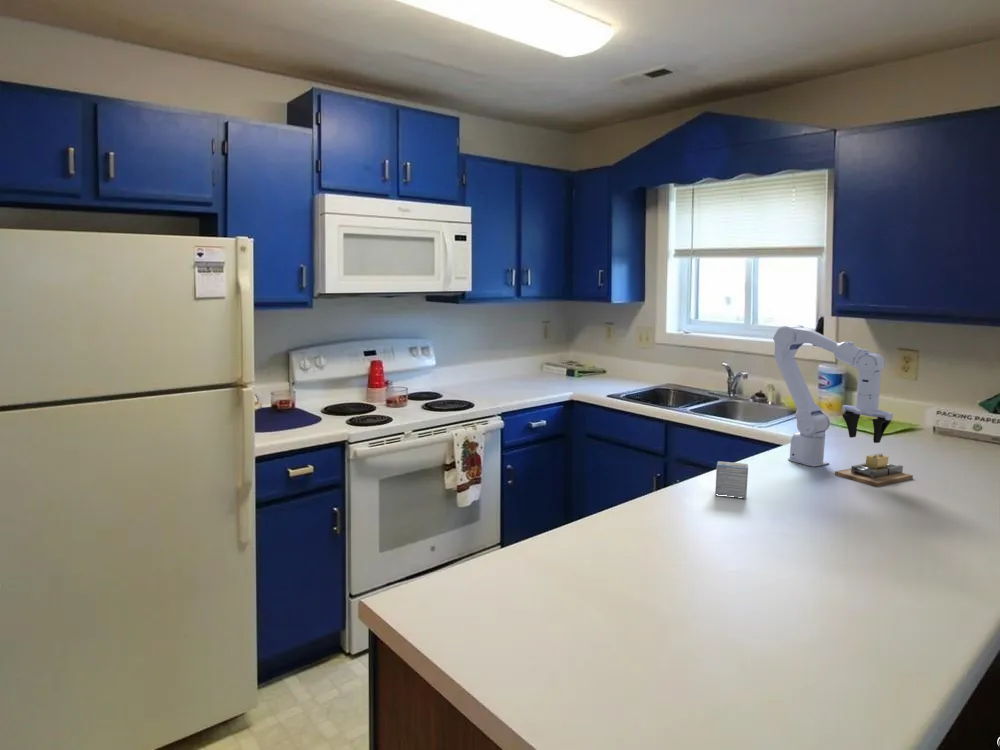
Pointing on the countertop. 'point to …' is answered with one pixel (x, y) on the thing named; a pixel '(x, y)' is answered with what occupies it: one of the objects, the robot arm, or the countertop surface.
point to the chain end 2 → (894, 469)
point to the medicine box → (731, 479)
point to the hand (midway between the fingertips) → (864, 439)
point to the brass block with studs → (877, 461)
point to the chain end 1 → (869, 471)
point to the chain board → (876, 481)
